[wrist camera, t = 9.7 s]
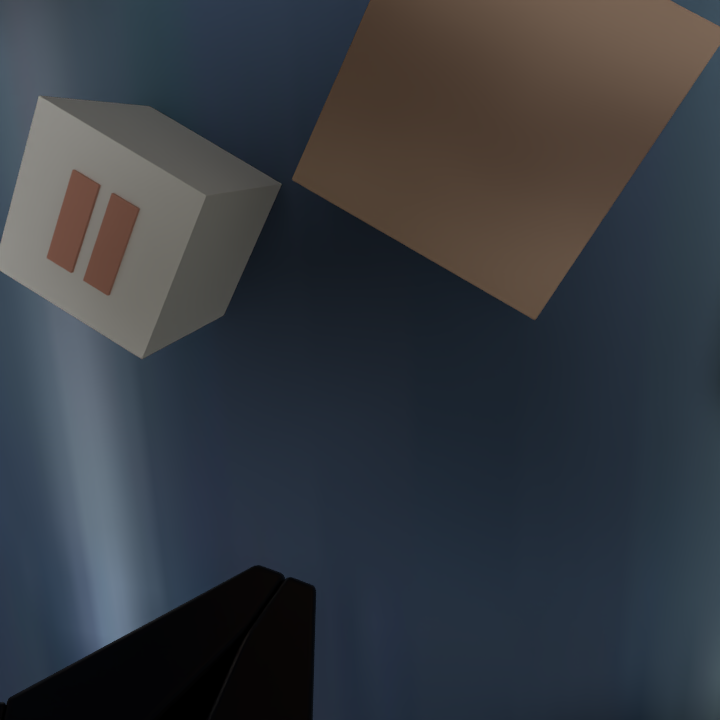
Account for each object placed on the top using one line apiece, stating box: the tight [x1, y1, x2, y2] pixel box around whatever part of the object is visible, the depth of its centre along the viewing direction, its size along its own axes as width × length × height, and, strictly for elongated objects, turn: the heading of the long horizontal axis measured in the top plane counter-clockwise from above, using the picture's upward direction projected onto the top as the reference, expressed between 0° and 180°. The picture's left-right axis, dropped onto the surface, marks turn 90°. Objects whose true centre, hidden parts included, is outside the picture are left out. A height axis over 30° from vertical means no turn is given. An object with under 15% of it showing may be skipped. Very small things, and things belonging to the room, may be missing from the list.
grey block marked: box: [0, 96, 282, 359], centre depth 19 cm, size 5×5×5 cm
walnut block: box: [292, 0, 720, 320], centre depth 16 cm, size 7×7×4 cm
